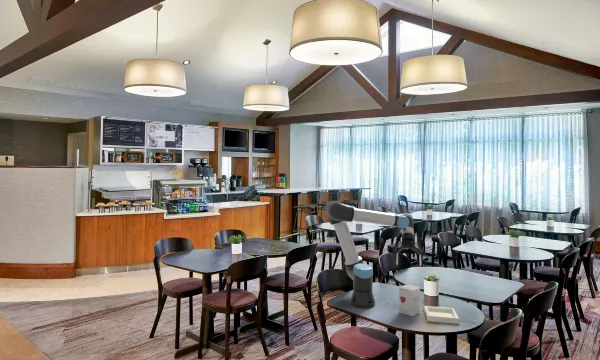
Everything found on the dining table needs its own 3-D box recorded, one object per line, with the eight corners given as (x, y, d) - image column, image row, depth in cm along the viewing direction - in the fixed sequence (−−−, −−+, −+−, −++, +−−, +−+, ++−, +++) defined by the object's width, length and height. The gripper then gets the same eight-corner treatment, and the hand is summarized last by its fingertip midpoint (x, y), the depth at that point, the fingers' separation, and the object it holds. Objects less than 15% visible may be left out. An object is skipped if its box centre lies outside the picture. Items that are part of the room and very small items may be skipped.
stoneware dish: (427, 321, 214) (427, 315, 214) (424, 310, 230) (424, 305, 229) (458, 323, 211) (458, 318, 211) (453, 313, 226) (453, 308, 226)
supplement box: (398, 312, 226) (398, 286, 226) (405, 308, 233) (406, 283, 232) (412, 316, 220) (413, 290, 220) (420, 312, 227) (420, 287, 226)
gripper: (427, 239, 250) (429, 269, 236) (387, 238, 256) (387, 266, 241) (428, 232, 245) (431, 262, 231) (387, 231, 250) (387, 259, 236)
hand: (408, 264), depth 236 cm, fingers open, 13 cm apart
